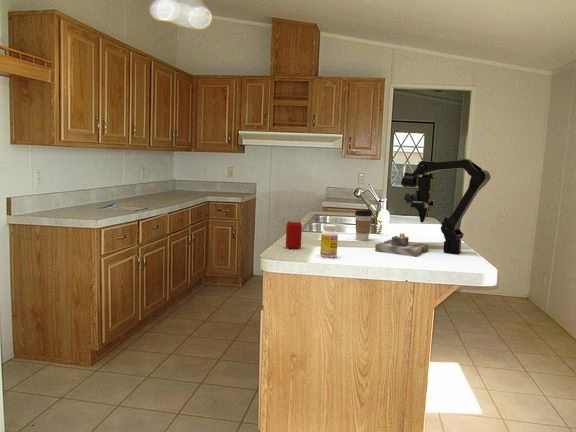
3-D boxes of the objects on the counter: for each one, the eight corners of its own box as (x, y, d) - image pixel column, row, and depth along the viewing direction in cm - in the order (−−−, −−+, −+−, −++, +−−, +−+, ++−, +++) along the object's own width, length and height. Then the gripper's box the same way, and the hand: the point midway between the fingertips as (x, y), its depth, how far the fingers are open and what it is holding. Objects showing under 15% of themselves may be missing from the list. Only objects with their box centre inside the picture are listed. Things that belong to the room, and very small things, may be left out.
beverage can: (301, 247, 219) (302, 220, 217) (300, 249, 212) (301, 222, 211) (286, 246, 219) (287, 219, 218) (284, 248, 213) (285, 221, 211)
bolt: (407, 243, 219) (408, 233, 218) (402, 245, 213) (402, 234, 212) (401, 242, 220) (401, 232, 220) (395, 244, 214) (396, 234, 214)
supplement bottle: (330, 258, 194) (331, 226, 193) (317, 256, 198) (318, 224, 197) (340, 256, 199) (341, 225, 198) (326, 254, 204) (328, 223, 202)
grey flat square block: (428, 250, 221) (429, 236, 220) (415, 256, 205) (416, 241, 205) (389, 245, 230) (390, 232, 229) (375, 251, 215) (376, 236, 214)
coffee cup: (371, 241, 241) (373, 211, 239) (354, 241, 241) (356, 210, 239) (369, 239, 249) (371, 209, 247) (352, 238, 249) (354, 209, 247)
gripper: (413, 186, 236) (411, 218, 238) (400, 187, 221) (398, 222, 222) (436, 188, 231) (434, 221, 232) (424, 189, 215) (422, 224, 217)
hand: (422, 222), depth 226 cm, fingers closed
